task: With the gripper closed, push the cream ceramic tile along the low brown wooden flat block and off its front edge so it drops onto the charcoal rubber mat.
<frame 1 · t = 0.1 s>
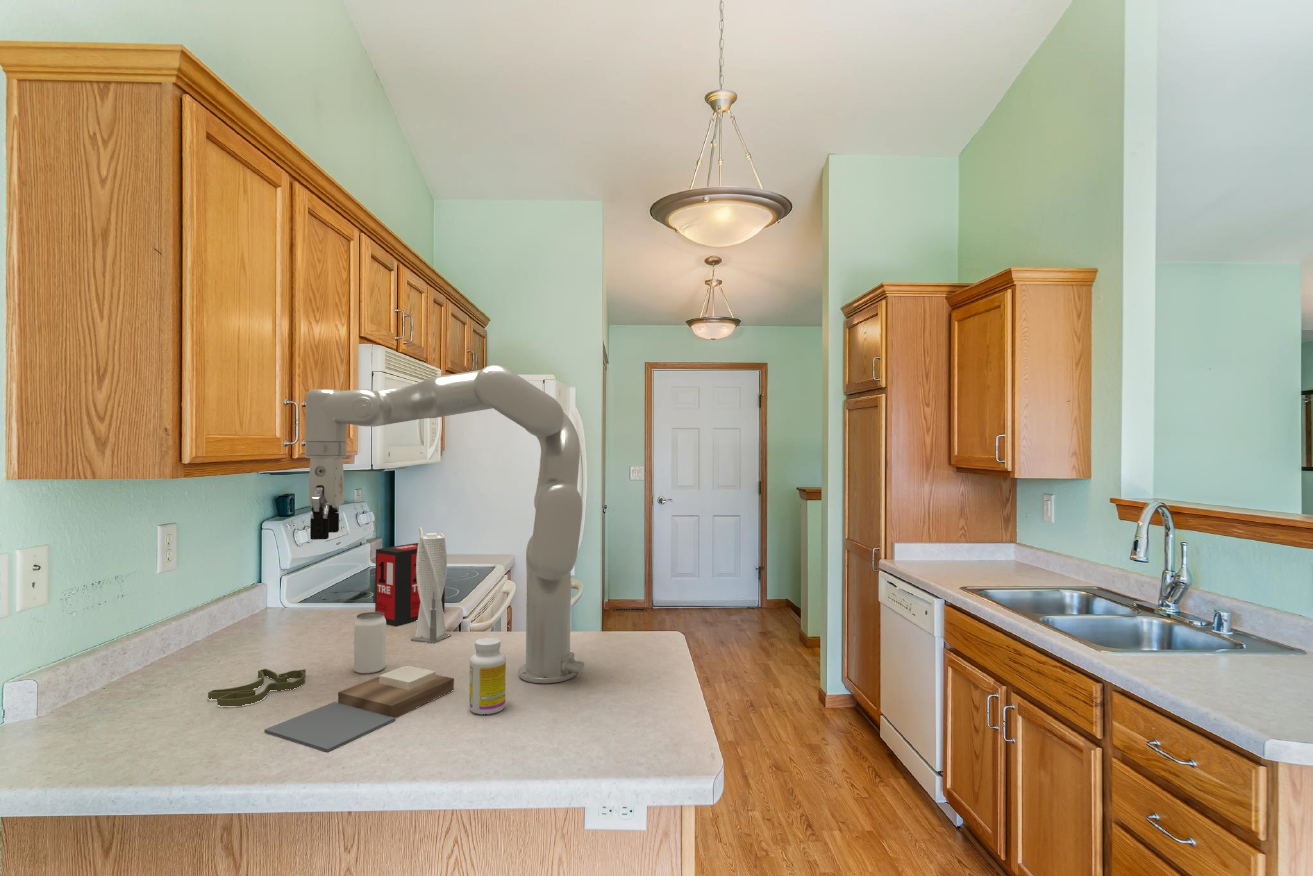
hand: (325, 535, 138), 31 cm above the worktop, tool pointing down, fingers open, 9 cm apart
can: (369, 670, 151), on the worktop
skyscraper: (430, 638, 175), on the worktop
tile: (407, 681, 137), point 2 cm above the worktop, touching brown wooden flat block
brown wooden flat block: (397, 697, 135), on the worktop
mat: (331, 726, 121), on the worktop
cookie cutter: (260, 693, 138), on the worktop
cleaning product box: (410, 618, 194), on the worktop
supplement bottle: (487, 709, 130), on the worktop
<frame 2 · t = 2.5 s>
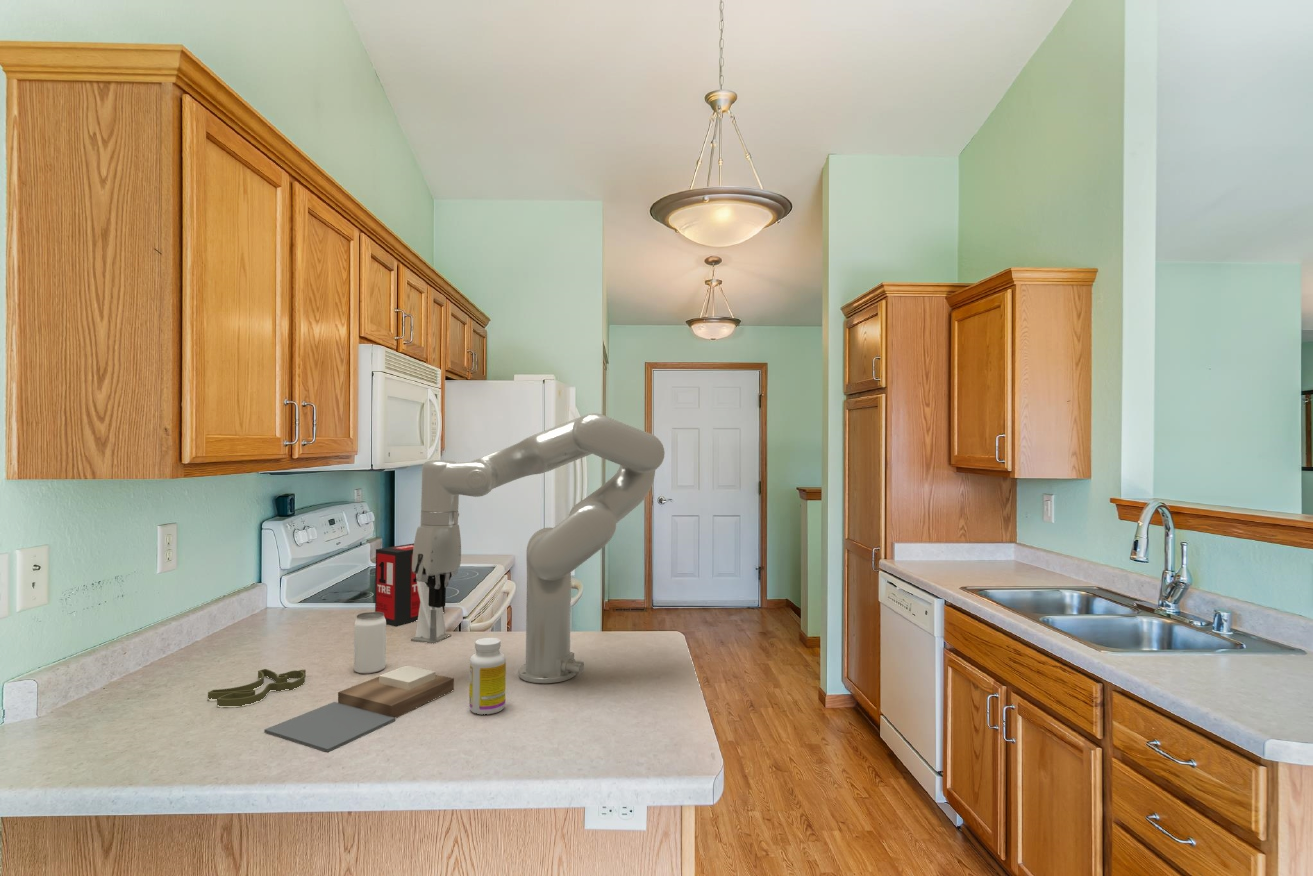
hand: (436, 606, 144), 16 cm above the worktop, tool pointing down, fingers closed
nothing on the worktop moved.
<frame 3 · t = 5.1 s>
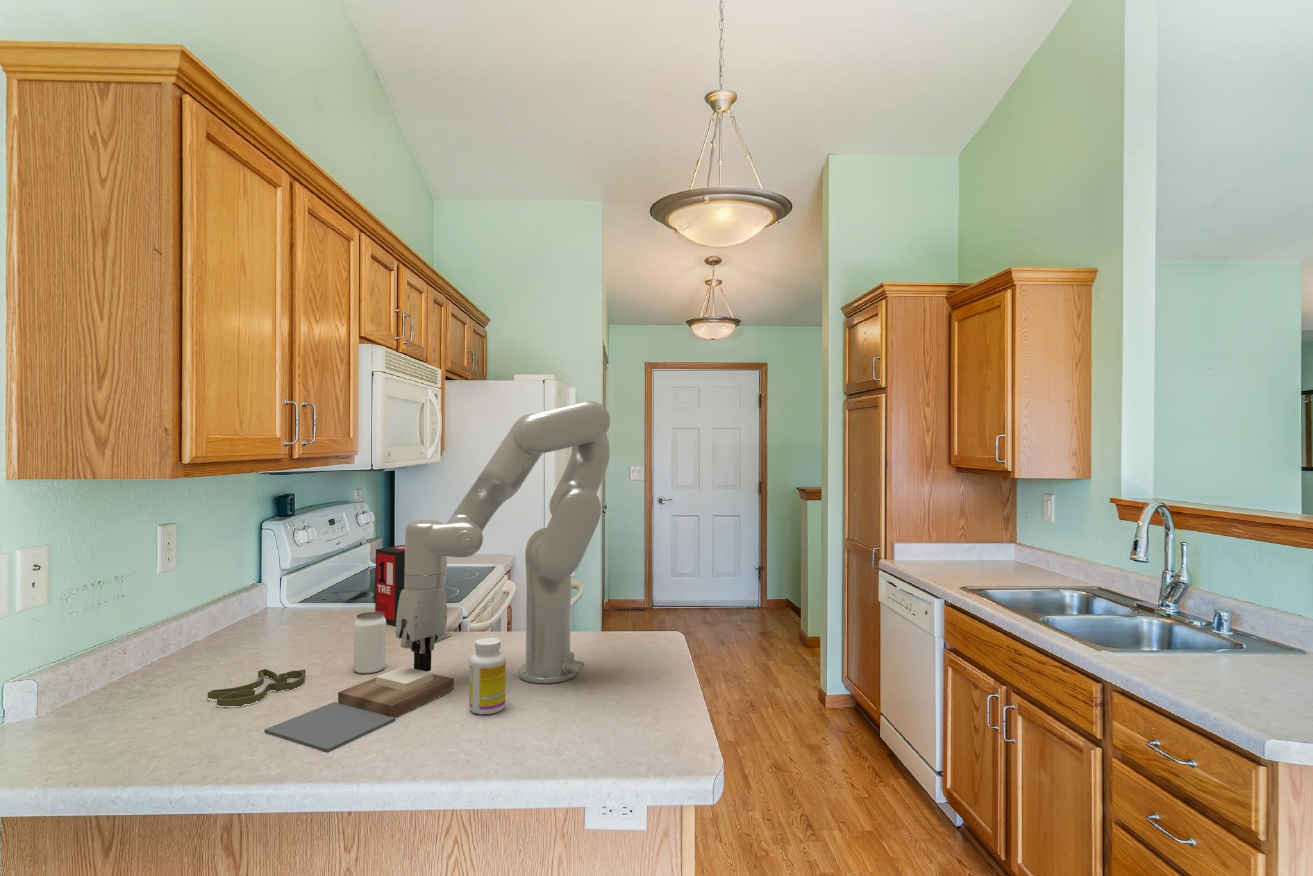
hand: (422, 670, 141), 3 cm above the worktop, tool pointing down, fingers closed
tile: (404, 682, 136), point 2 cm above the worktop, touching brown wooden flat block, gripper
everything else where it was.
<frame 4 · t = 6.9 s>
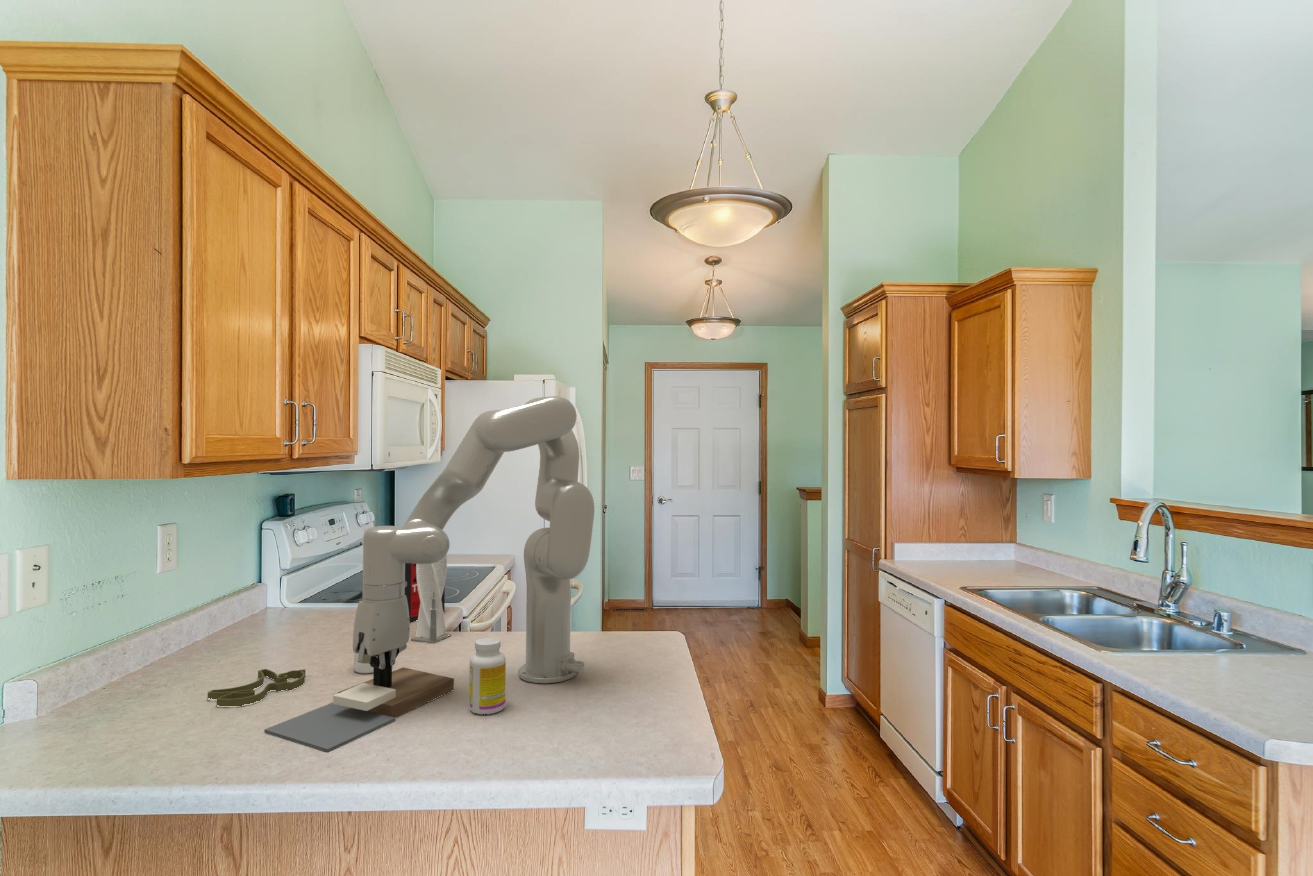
hand: (382, 686, 131), 3 cm above the worktop, tool pointing down, fingers closed
tile: (364, 700, 127), point 3 cm above the worktop, touching gripper
everything else where it was.
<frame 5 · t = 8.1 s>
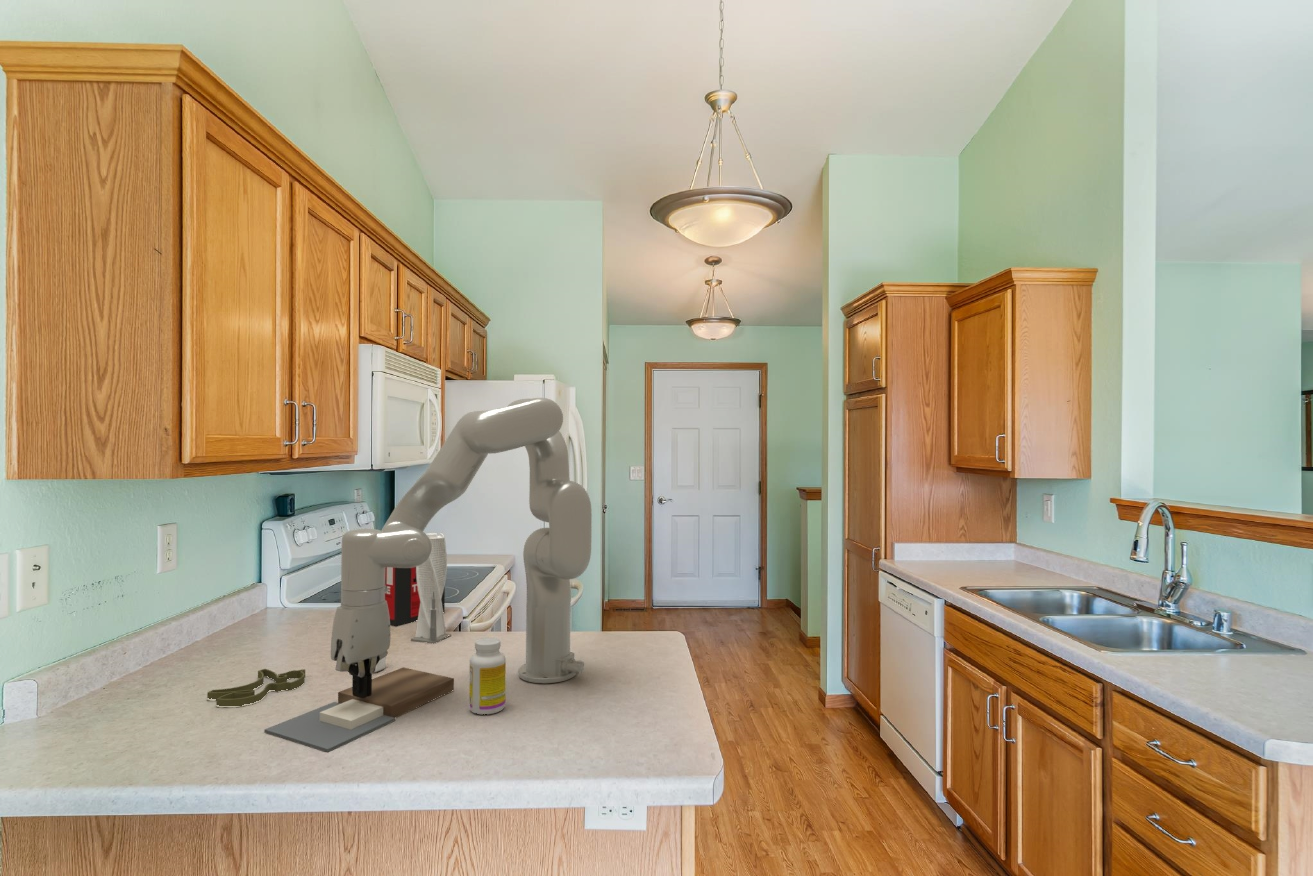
hand: (362, 695, 127), 3 cm above the worktop, tool pointing down, fingers closed
tile: (351, 717, 124), resting on mat
everything else where it was.
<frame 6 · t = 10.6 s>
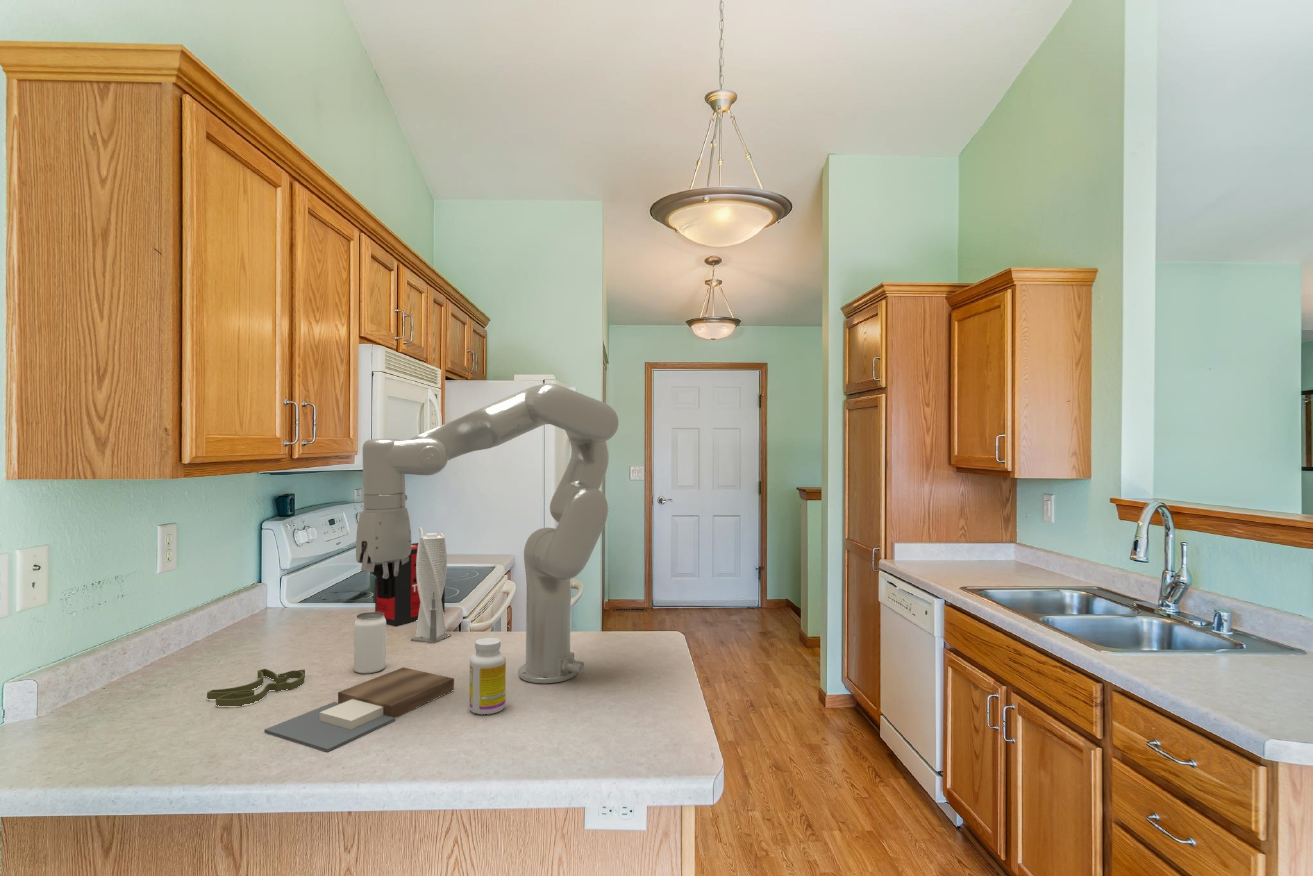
hand: (386, 597, 132), 20 cm above the worktop, tool pointing down, fingers closed
nothing on the worktop moved.
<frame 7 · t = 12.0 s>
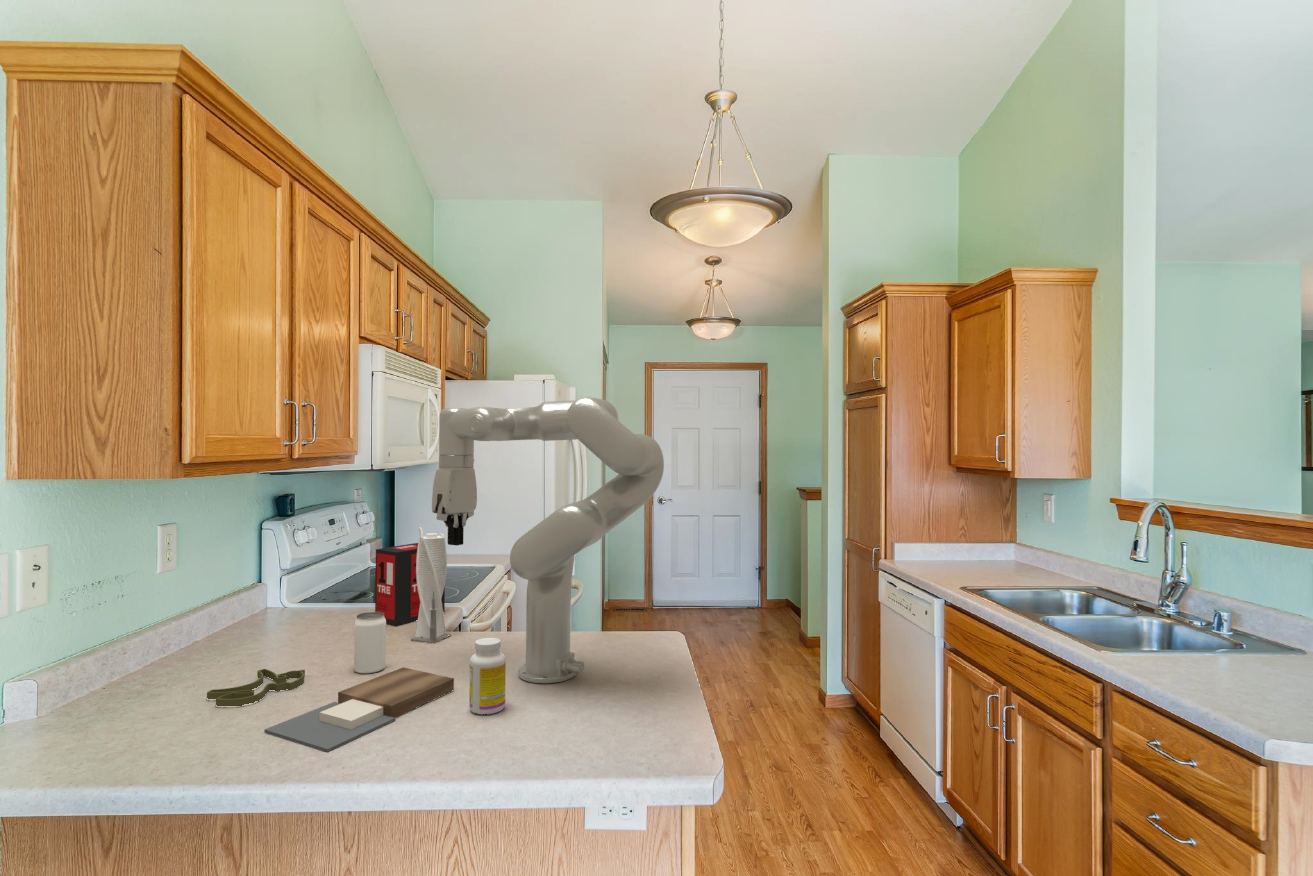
hand: (455, 544, 154), 27 cm above the worktop, tool pointing down, fingers closed
nothing on the worktop moved.
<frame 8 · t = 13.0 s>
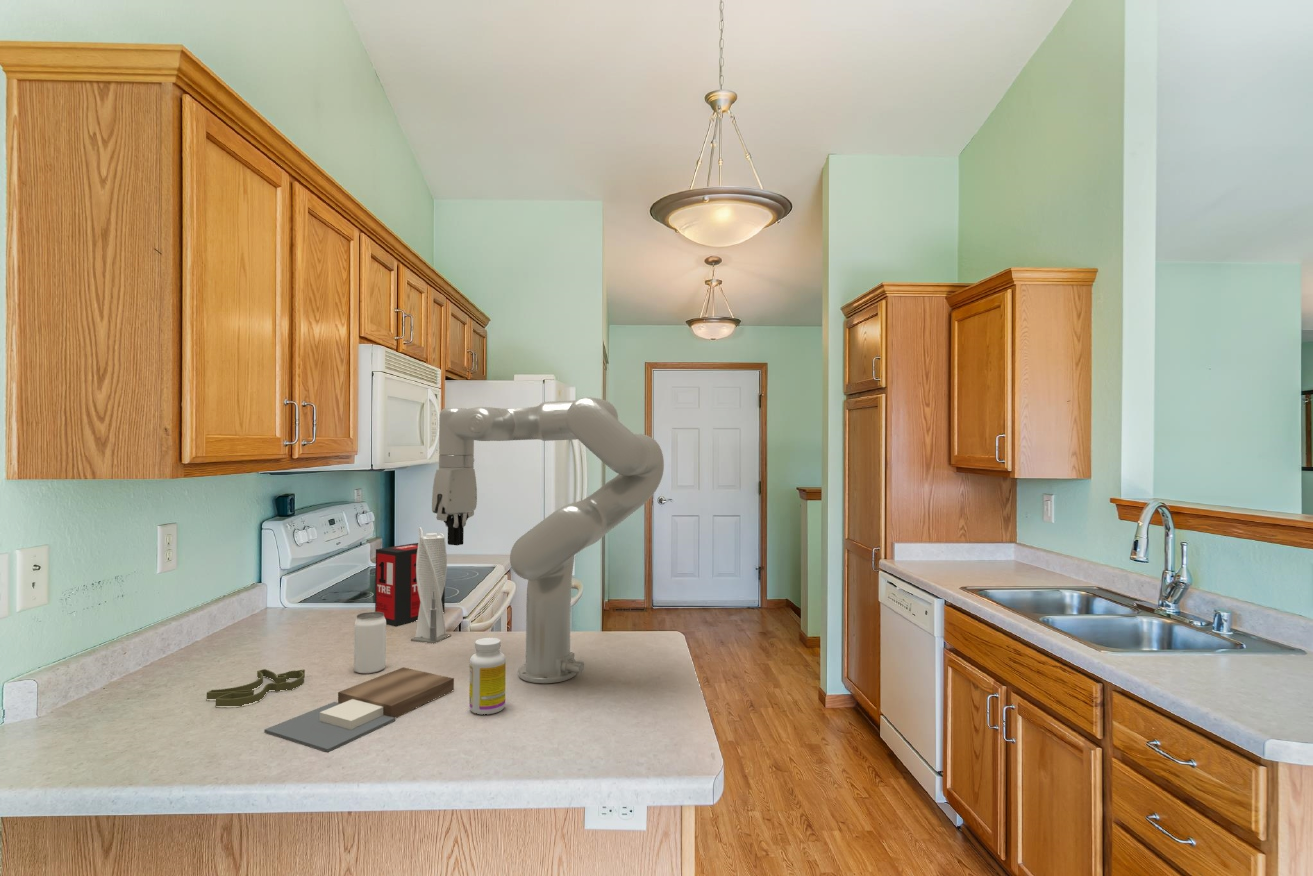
hand: (455, 544, 154), 27 cm above the worktop, tool pointing down, fingers closed
nothing on the worktop moved.
at the end: tile inside the target area on the mat (4.1 cm from its centre), point 0.5 cm above the mat's base; tile point 0.5 cm above the worktop; tile touching mat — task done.
